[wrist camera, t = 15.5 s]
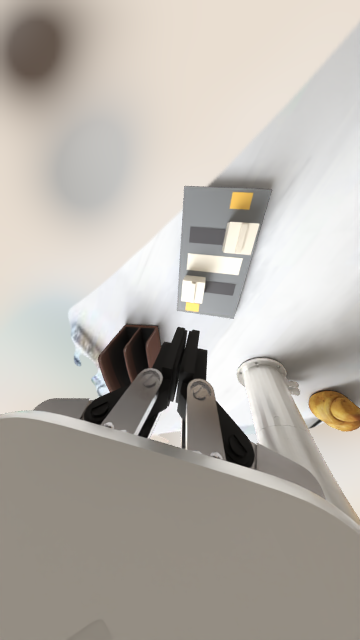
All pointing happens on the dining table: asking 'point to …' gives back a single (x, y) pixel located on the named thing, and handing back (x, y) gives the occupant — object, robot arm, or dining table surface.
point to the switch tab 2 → (240, 237)
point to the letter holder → (129, 355)
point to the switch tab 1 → (193, 289)
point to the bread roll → (335, 410)
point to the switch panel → (216, 244)
